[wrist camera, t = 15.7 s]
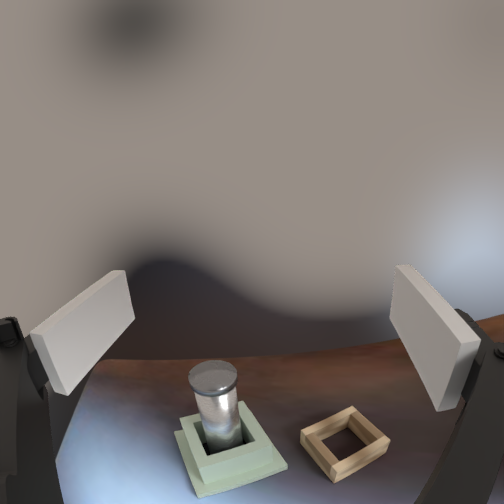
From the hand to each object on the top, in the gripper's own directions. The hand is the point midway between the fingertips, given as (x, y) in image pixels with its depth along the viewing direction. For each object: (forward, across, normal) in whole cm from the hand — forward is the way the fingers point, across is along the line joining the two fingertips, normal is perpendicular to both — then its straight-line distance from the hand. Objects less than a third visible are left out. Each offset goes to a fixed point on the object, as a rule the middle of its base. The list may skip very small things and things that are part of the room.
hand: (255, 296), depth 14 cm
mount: (+13, +9, -30) cm, 34 cm away
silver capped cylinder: (+12, -7, -30) cm, 33 cm away
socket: (+12, -7, -30) cm, 33 cm away
